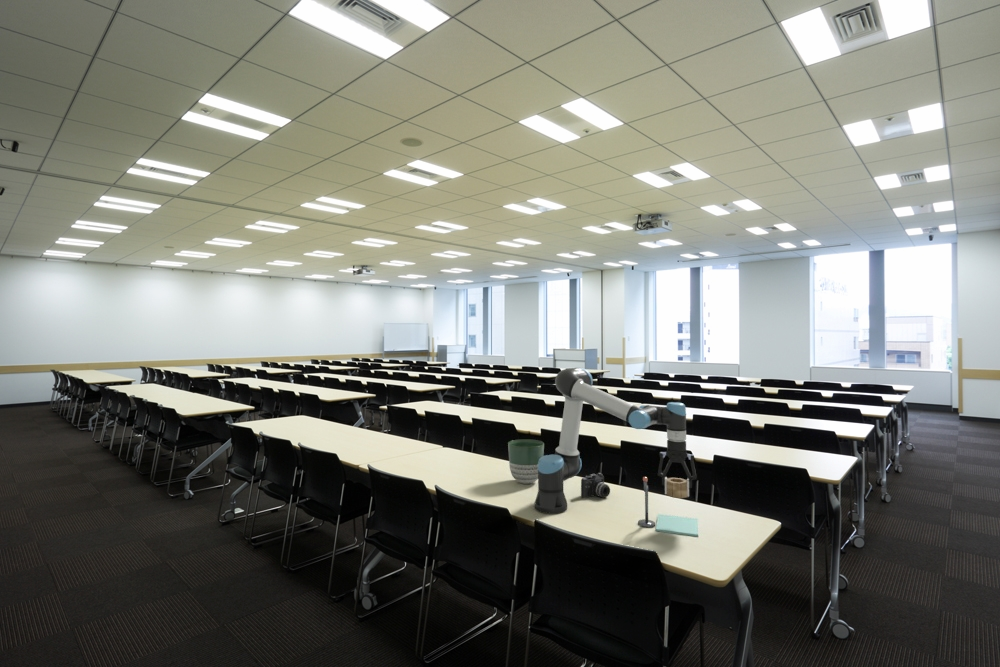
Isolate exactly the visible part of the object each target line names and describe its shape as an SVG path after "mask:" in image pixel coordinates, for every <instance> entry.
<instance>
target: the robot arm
mask: <svg viewBox="0 0 1000 667" xmlns="http://www.w3.org/2000/svg"><path fill="white" fill-rule="evenodd" d="M554 379H555V380H554V383H555V388H556V389H557V391H559V392H560V393H561V394H562V396H563V397H564V398H565V399H564V405H563V406H564V408H563V413H562V422H561V428H560V429H561V430H560V436H559V443H558V444H559V445H558V446H557V447H556V448H555V450H554V451H555V452H554V454H549V455H548V454H546V455H544V456H543V457H541V458H540V459H539V461H538V479H537V481H538V484H537V485H538V487H537V488H538V489H537V492H536V493H537V494H536V497H535V501H534V509H535V511H537V512H539V513H544V514H562V513H565V512H567V510H568V502H567V499H566V495H565V493H564V481H567V480H569V479H572V478H574V477H576V476H577V475H578V474H579V472H580V471H581V469H582V458H580V457H581V456H580V451H579V450H578V443H579V434H580V427H581V420H582V411H583V403H584V402H585V403H587V404H589V405H591V406H593V407H595V408H597V409H600V410H602V411H604V412H606V413H608V414H610V415H612V416H615V417H617V418H619V419H621V420H623V421H625V422H627V423H629V425H630V426H631V427H632V428H633V429H636V430H643V429H646V428H648V427H650V426H652V425H653V426H654V425H665V426H666V438H667V441H666V451H660V452H659V458H660V459H659V464H658V468H657V469H658V470H657V476H658V477H661V485H662V486H664V495H667V478H668V477H667V473H669V470H670V468H671V466H672V464H673V463H678V464H681V466H682V467H683V470H684V473H685V474H686V476H687V479H686V480H687V498H689V497H690V489H693V481H694V480H697V479H698V478H697V473H696V468H695V462H694V459H695V455H694V453H692V454H690V453H688V451H687V412H686V411H687V410H686V405H685V404H684V403H682V402H677V401H676V402H673V401H671V402H667V403H666V406H660V405H659V406H657V405H649V404H645V405H644V404H642V405H640V406H637V405H634V404H632V403H631V402H628V401H626V400H623V399H621V398H619V397H617V396H614V395H613V394H610V393H607V391H606V392H605V391H603V390H602V389H599V388H597V387H594V386H593V382H594V380H593V376H592V374H591V373H590V371H589V370H587V369H585V368H583V367H574V368H573V367H572V368H565V369H563V370H561V371H559V372H558V373H557V374H556V376H555V378H554ZM666 456H667V458H668V461H667V464H666V466H665V469H664V470H663V471H662V468H663V464H664V463H663V462H664V458H665V457H666ZM686 458H688V460H690V466H691V472H692V475H691V472H690V471H689V468H688V466H687V464H686V461H685V460H686Z"/></svg>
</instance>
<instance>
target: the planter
mask: <svg viewBox="0 0 1000 667" xmlns="http://www.w3.org/2000/svg"><path fill="white" fill-rule="evenodd" d="M507 444H508V445H507V446H508V447H507V448H508V450H507V451H508V461H509V463H508V464H509V471H510V474H511V476H512V478H513V479H515V481H517V482H518V483H520V484H525V485H528V484H533V483H536V481H538V461H539V459H540V458H541V457H543V456H545V455H544V454H545V452H544V450H545V443H544V442H543V441H542V440H538V439H537V440H536V439H515V440H513V439H512V440H510V441H508V442H507Z"/></svg>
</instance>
